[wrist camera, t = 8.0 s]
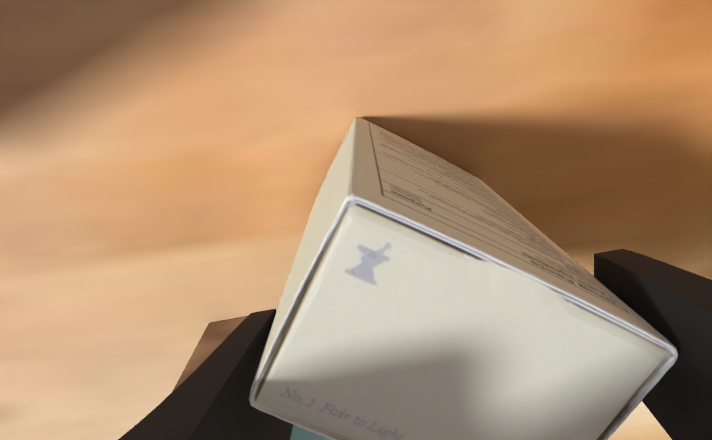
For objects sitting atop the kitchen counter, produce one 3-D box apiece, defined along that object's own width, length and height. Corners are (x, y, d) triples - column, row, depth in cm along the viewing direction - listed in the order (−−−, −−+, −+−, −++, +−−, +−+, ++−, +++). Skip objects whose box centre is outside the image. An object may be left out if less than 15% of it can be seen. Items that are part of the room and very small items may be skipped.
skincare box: (312, 203, 19) (224, 407, 7) (357, 109, 18) (336, 180, 6) (438, 263, 20) (536, 533, 8) (491, 178, 18) (696, 356, 7)
